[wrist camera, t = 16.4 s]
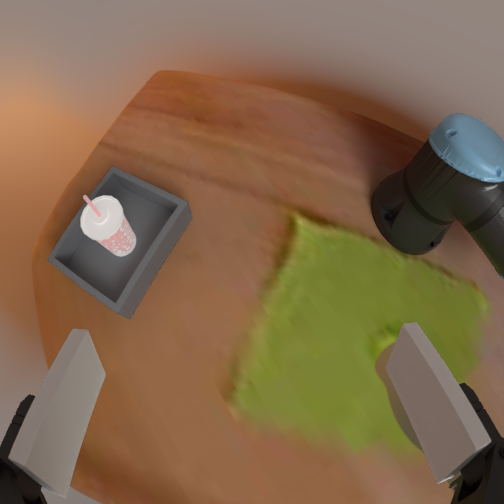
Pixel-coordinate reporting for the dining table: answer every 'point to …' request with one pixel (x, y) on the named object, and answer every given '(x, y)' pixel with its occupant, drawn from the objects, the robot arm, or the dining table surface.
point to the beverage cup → (108, 225)
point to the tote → (142, 256)
